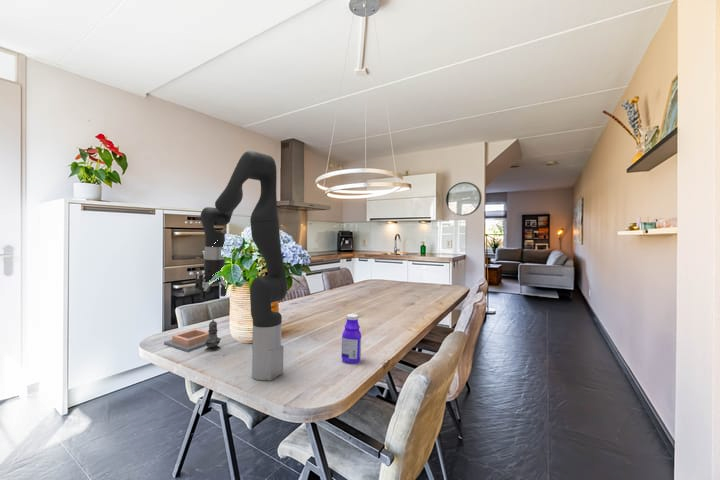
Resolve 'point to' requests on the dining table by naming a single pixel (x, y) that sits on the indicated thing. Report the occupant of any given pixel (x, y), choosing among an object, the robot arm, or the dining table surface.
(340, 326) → the dining table surface
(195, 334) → the tray
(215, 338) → the dark grey upright piece
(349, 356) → the bottle
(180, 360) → the dining table surface
